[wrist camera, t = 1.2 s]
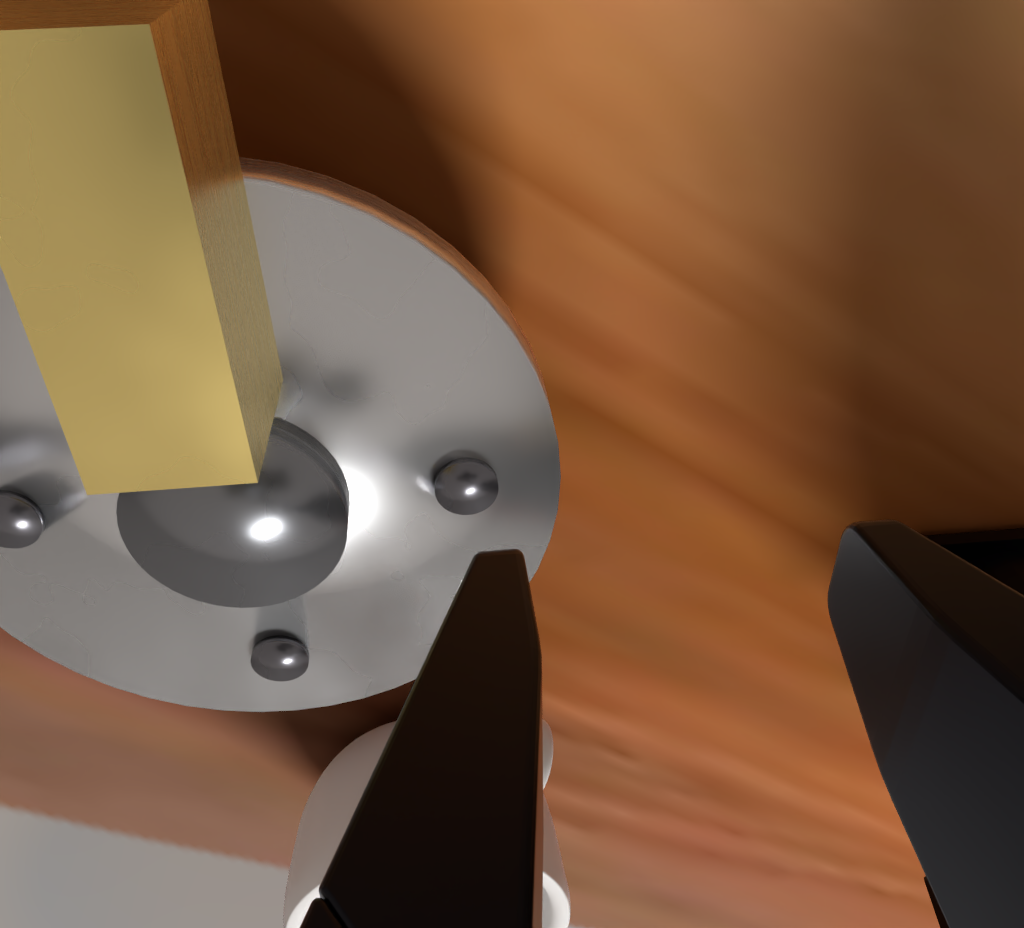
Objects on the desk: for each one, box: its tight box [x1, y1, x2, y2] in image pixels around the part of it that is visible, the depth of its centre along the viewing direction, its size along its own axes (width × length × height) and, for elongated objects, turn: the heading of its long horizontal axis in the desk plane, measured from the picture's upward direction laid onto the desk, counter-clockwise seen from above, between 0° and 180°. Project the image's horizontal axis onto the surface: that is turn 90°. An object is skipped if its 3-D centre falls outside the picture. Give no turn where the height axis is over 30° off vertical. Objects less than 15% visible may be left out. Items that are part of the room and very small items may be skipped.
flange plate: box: [0, 0, 561, 712], centre depth 15 cm, size 14×12×4 cm
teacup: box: [283, 718, 570, 928], centre depth 26 cm, size 10×8×5 cm
